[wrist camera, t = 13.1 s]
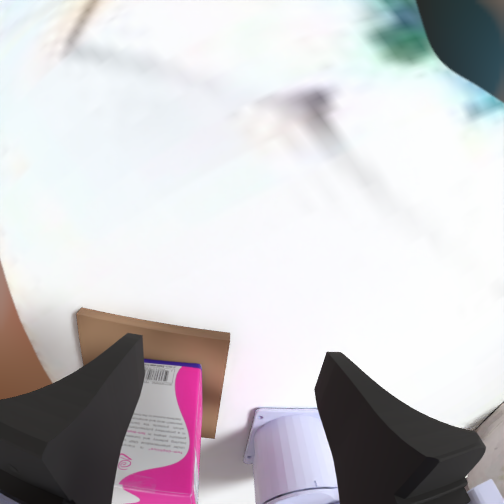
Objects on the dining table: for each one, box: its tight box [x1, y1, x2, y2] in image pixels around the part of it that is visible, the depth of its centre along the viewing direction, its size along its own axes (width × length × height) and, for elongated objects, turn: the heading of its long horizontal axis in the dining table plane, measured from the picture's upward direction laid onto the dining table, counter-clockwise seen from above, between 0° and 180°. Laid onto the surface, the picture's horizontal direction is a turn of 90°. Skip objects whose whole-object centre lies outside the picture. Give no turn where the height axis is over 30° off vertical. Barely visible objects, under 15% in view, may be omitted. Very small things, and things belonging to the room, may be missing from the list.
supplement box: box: [112, 359, 203, 504], centre depth 17 cm, size 6×6×12 cm
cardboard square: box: [76, 308, 230, 439], centre depth 24 cm, size 12×12×2 cm
